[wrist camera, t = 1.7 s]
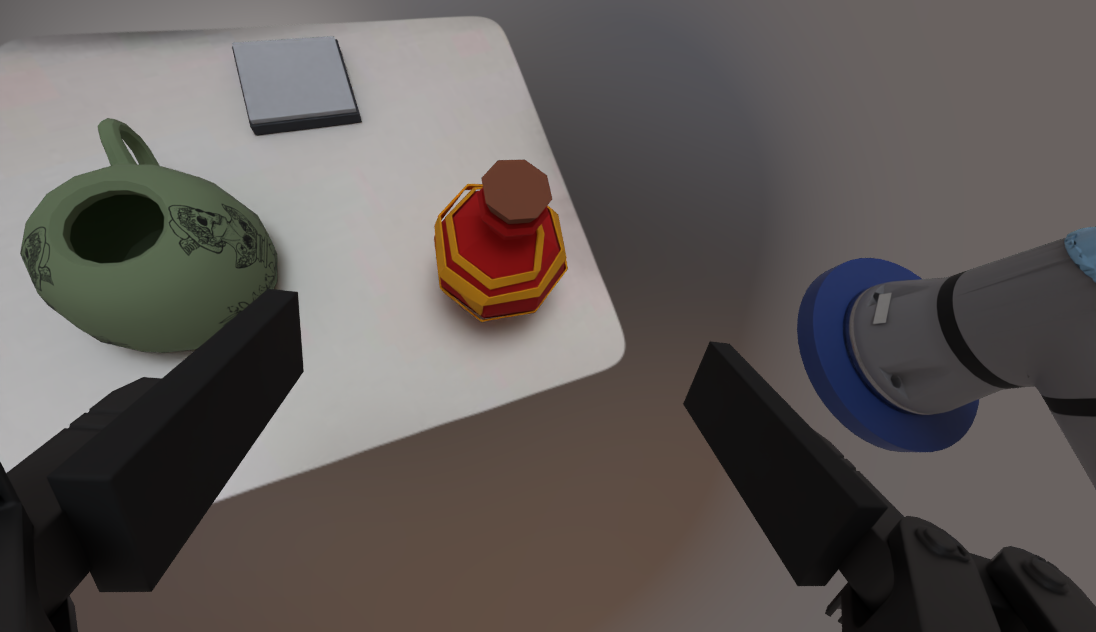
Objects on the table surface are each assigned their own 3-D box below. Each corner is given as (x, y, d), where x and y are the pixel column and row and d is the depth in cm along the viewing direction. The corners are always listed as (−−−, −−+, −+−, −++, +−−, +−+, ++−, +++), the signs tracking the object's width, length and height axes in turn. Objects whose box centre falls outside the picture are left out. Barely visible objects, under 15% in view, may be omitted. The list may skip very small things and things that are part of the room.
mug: (304, 329, 33) (257, 291, 25) (104, 385, 29) (-29, 361, 21) (261, 162, 36) (207, 80, 28) (75, 191, 32) (-49, 106, 24)
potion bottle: (569, 304, 39) (635, 223, 25) (472, 361, 35) (487, 305, 21) (508, 215, 40) (540, 90, 26) (410, 261, 37) (385, 146, 23)
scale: (339, 49, 42) (335, 34, 40) (361, 122, 40) (358, 109, 38) (237, 56, 39) (228, 40, 37) (255, 135, 37) (247, 122, 35)
